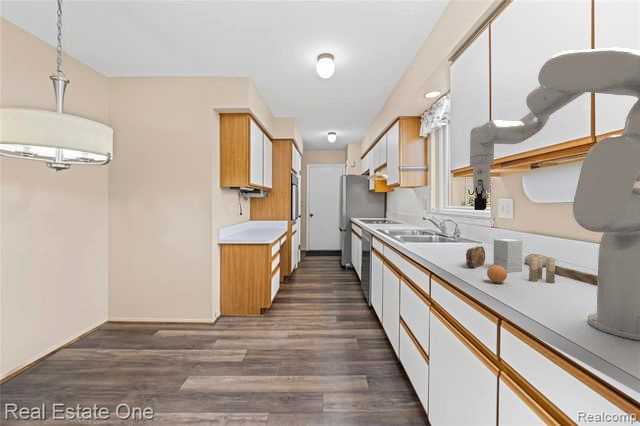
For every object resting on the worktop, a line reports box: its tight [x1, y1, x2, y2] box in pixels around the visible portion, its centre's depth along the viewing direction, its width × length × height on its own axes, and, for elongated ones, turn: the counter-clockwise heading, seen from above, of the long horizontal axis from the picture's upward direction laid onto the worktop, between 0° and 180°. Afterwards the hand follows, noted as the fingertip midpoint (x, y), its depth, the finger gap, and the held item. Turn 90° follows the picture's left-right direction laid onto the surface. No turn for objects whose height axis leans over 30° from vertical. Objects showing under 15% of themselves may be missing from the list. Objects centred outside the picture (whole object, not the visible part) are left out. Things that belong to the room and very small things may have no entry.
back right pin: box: [545, 256, 556, 284], centre depth 102 cm, size 2×2×8 cm
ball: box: [486, 264, 508, 284], centre depth 103 cm, size 6×6×6 cm
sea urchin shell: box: [524, 253, 547, 268], centre depth 129 cm, size 9×8×8 cm
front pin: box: [528, 257, 538, 282], centre depth 104 cm, size 2×2×8 cm
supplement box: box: [493, 238, 523, 273], centre depth 120 cm, size 7×7×13 cm
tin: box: [465, 246, 486, 269], centre depth 128 cm, size 15×3×8 cm, turn 131°
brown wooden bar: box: [555, 264, 598, 286], centre depth 106 cm, size 20×2×3 cm, turn 6°
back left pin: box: [534, 254, 543, 280], centre depth 107 cm, size 2×2×8 cm
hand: (480, 209), depth 106 cm, fingers open, 9 cm apart
